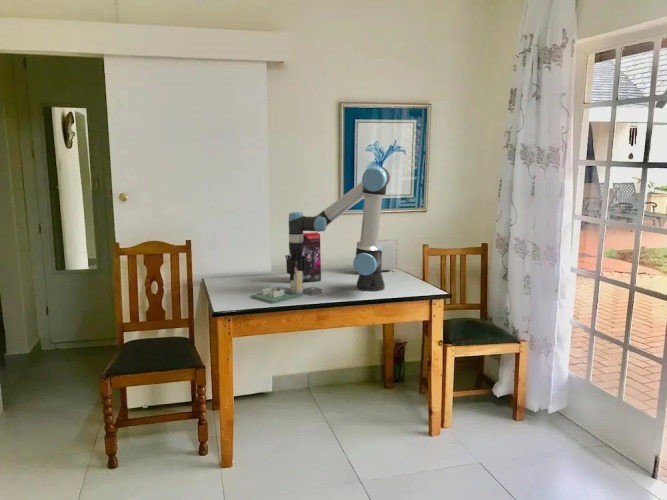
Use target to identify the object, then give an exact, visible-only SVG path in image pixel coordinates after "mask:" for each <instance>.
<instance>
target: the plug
mask: <svg viewBox="0 0 667 500" xmlns="http://www.w3.org/2000/svg"><path fill="white" fill-rule="evenodd" d="M294 274H295V287H293V286H291V280H290V279H289V280H290V281H289V282H290V286H289V287H290V289H289V290H291V291H294V292H299V291H303V282H302V271H299V270H295V271H294Z"/></svg>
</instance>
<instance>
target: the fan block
mask: <svg viewBox="0 0 667 500" xmlns="http://www.w3.org/2000/svg"><path fill="white" fill-rule="evenodd" d="M302 293H304V294H306V295H311V296H313V295H314V296H315V295H318V294H321V293H323V289H322V288H320V287H316V286H310V287H306V288H305V287H304V288H302Z"/></svg>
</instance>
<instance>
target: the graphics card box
mask: <svg viewBox="0 0 667 500" xmlns="http://www.w3.org/2000/svg"><path fill="white" fill-rule="evenodd" d="M289 242H290V241H289V240H288V243H289ZM288 250H289V252H290V249H289V248H288ZM302 250H303V252H305V253H307V255H306V270H305V271H304V273H303V278H302V283H305V282H319V281H320V282H321V281H322V267H321V266H322V265H321V264H322V262H321V234H320V233H319V232H317V231H314V232H303V249H302ZM295 270H298V265H297V261H296V264H295Z"/></svg>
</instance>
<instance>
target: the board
mask: <svg viewBox="0 0 667 500" xmlns="http://www.w3.org/2000/svg"><path fill="white" fill-rule="evenodd" d="M250 296H251V298H252V299H255V300H259V301H262V302H265V303H266V302H267V303H270V304H276V303H280V302H283V301H289V300H291V299H295V298H299V297H303V292H299V291H295V290H291V289H286V288H282V286H278V287H277V288H276V287H273V286H271V287H267V288H262V289H261V290H260V293H253V294H251V295H250Z"/></svg>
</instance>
